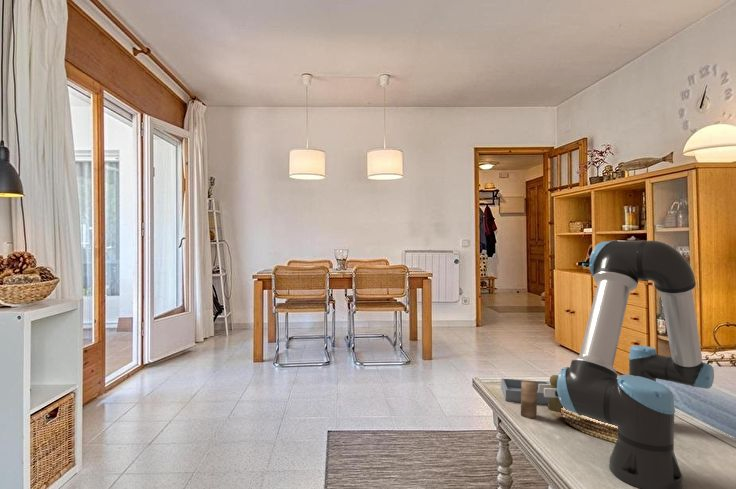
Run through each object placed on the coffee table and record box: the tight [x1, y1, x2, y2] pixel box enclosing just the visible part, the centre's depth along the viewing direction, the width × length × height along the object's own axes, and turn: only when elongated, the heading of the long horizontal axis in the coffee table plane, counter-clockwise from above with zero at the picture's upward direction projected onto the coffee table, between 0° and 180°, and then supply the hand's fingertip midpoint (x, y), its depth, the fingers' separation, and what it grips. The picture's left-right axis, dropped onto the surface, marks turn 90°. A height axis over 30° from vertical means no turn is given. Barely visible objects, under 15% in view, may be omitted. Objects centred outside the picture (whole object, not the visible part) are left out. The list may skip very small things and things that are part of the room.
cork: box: [547, 374, 563, 413], centre depth 140 cm, size 6×6×11 cm
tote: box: [500, 377, 550, 406], centre depth 161 cm, size 15×18×4 cm
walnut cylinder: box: [520, 379, 538, 419], centre depth 142 cm, size 5×5×11 cm
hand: (541, 390), depth 141 cm, fingers closed on cork, 4 cm apart
